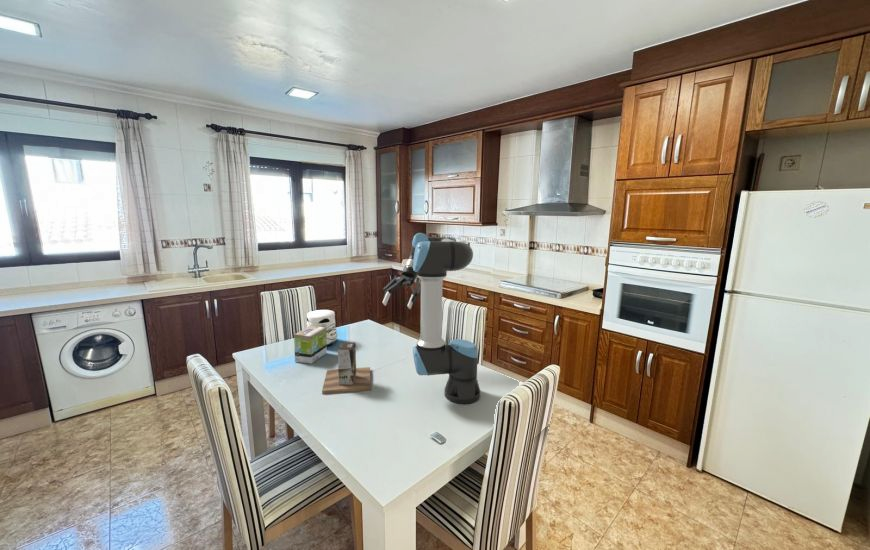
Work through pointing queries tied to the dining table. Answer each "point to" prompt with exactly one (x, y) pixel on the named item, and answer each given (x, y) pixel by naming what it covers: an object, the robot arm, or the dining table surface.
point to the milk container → (324, 323)
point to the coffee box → (347, 363)
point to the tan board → (359, 384)
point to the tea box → (310, 344)
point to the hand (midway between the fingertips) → (396, 305)
